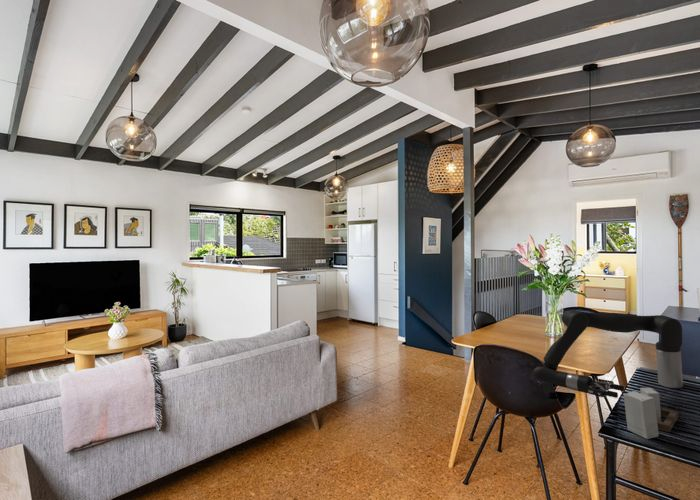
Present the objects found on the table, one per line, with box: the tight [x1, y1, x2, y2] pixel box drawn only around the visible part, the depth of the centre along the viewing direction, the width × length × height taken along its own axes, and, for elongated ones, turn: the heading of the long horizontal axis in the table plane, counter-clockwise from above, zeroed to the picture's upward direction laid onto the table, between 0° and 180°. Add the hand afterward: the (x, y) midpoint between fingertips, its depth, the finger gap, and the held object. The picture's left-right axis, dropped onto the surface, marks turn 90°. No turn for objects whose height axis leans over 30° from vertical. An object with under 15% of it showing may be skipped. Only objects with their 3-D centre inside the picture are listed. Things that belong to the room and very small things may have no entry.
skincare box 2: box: [623, 390, 660, 440], centre depth 147 cm, size 8×6×15 cm
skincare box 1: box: [639, 387, 662, 422], centre depth 156 cm, size 6×4×12 cm
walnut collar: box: [624, 407, 679, 433], centre depth 156 cm, size 15×14×2 cm
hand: (620, 391), depth 163 cm, fingers open, 8 cm apart
